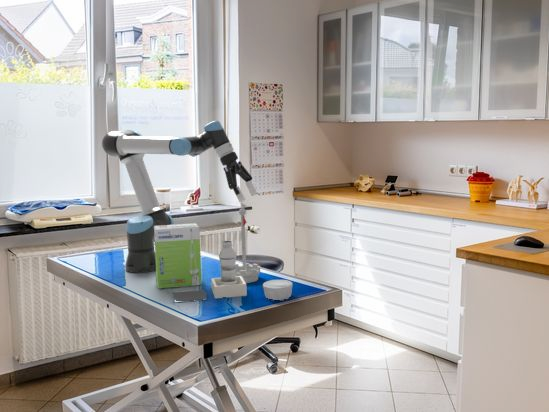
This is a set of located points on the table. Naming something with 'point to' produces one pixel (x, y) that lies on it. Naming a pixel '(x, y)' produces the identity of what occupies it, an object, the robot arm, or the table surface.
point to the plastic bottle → (227, 264)
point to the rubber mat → (189, 295)
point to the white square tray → (229, 288)
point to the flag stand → (245, 271)
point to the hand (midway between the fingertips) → (248, 197)
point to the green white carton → (177, 255)
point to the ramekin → (278, 289)
